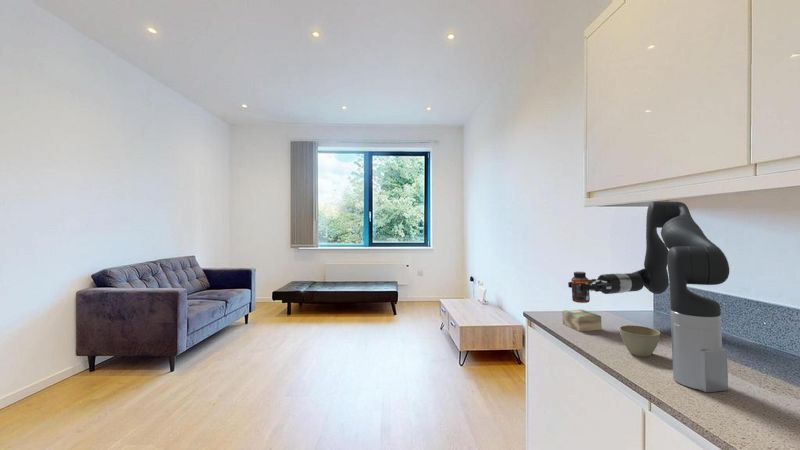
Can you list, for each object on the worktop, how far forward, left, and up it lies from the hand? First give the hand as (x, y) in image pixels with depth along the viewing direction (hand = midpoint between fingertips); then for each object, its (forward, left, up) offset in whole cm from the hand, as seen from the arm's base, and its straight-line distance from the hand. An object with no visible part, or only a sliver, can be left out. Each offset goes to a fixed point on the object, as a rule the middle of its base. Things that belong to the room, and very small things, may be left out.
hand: (574, 286), depth 129 cm
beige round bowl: (-28, -1, -16) cm, 32 cm away
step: (0, -2, -16) cm, 16 cm away
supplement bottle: (0, -3, -6) cm, 7 cm away
